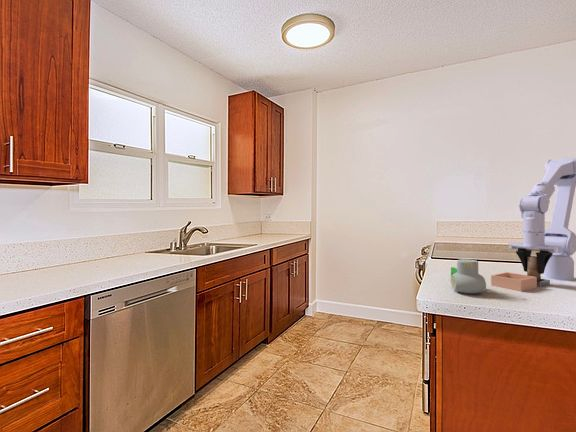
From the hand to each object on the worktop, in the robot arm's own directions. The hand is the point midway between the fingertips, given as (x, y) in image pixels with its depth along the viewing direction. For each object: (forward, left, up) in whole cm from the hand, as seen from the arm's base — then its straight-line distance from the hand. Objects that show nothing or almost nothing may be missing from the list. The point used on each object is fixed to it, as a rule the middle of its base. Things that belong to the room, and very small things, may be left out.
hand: (533, 272), depth 108 cm
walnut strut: (0, 0, -3) cm, 3 cm away
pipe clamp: (+15, -15, -5) cm, 22 cm away
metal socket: (0, 0, -4) cm, 5 cm away
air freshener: (+25, -6, -5) cm, 26 cm away
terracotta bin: (+9, -1, -4) cm, 10 cm away
